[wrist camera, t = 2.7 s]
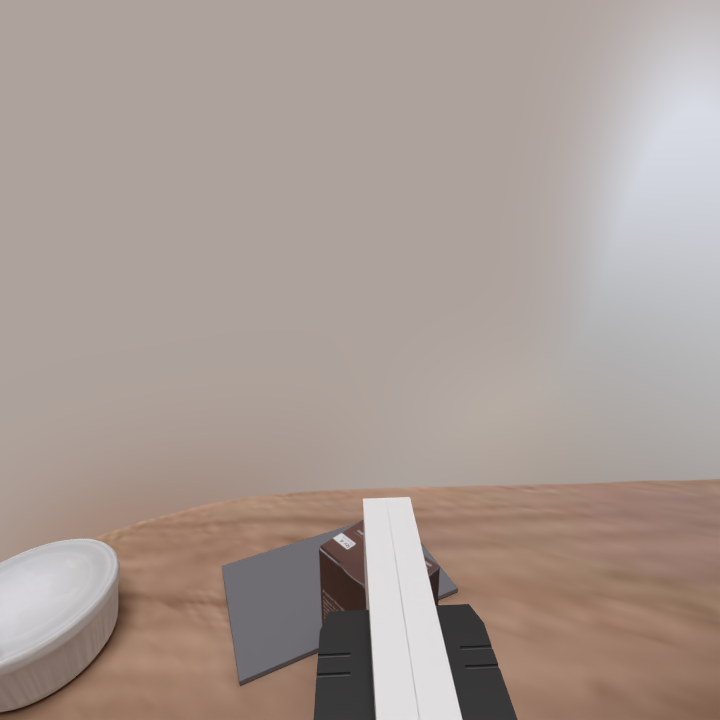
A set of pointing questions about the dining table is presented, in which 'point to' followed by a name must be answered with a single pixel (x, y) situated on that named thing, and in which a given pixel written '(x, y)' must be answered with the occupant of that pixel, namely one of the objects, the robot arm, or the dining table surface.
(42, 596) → the ramekin
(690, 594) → the dining table surface
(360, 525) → the box
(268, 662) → the mat
